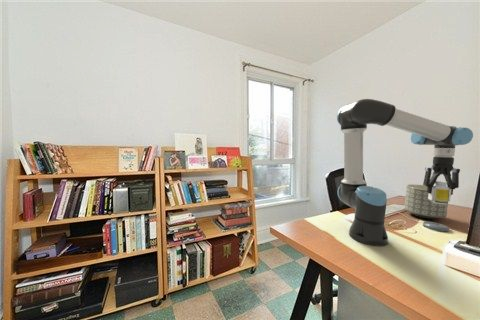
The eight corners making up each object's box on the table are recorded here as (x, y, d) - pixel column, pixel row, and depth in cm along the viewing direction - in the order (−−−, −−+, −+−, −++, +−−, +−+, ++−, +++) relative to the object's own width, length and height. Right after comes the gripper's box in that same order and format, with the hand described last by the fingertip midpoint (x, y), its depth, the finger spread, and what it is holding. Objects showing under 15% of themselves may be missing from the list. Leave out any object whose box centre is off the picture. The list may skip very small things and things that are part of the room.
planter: (440, 215, 125) (443, 187, 123) (451, 225, 109) (455, 193, 107) (401, 209, 135) (404, 183, 133) (406, 217, 119) (409, 188, 117)
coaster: (430, 230, 101) (430, 227, 101) (418, 223, 111) (418, 220, 111) (454, 233, 99) (455, 230, 99) (440, 225, 108) (440, 222, 108)
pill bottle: (451, 205, 100) (453, 182, 99) (436, 204, 101) (438, 181, 100) (440, 201, 106) (443, 180, 105) (426, 200, 108) (429, 179, 107)
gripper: (425, 156, 100) (421, 200, 103) (473, 157, 96) (468, 204, 98) (416, 155, 108) (412, 196, 110) (461, 156, 103) (456, 199, 105)
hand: (438, 200), depth 104 cm, fingers closed on pill bottle, 6 cm apart
